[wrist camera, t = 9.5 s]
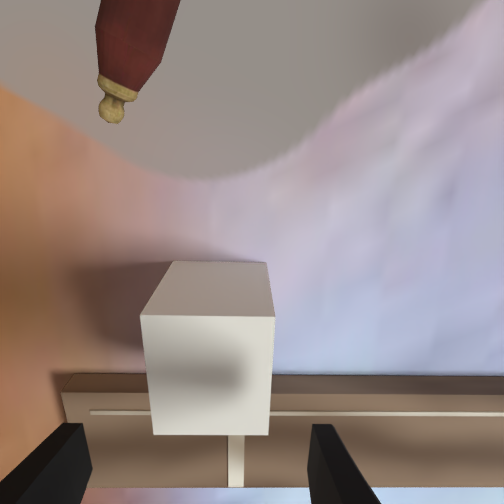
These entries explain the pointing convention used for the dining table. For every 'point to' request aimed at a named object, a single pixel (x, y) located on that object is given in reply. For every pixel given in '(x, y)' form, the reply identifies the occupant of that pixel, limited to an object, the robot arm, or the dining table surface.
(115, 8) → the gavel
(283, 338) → the dining table surface
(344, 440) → the walnut board
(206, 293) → the block
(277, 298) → the dining table surface
